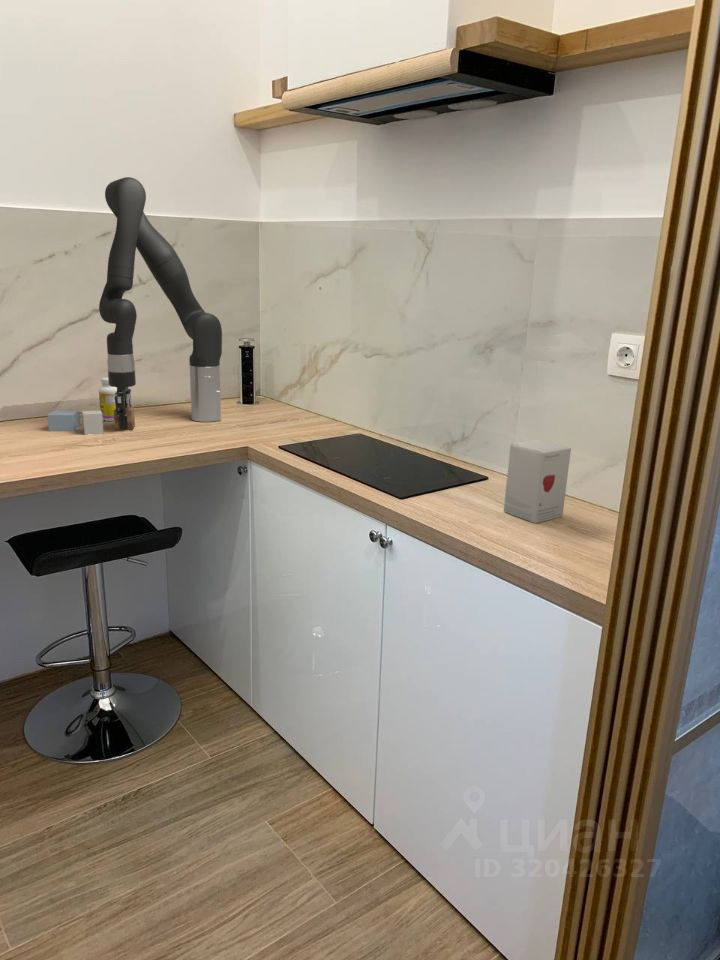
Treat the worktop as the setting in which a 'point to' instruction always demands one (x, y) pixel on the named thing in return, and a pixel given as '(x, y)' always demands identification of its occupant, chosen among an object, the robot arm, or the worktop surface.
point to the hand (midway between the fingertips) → (125, 426)
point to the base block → (64, 420)
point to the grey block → (92, 422)
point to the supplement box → (537, 480)
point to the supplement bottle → (107, 400)
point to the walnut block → (129, 419)
